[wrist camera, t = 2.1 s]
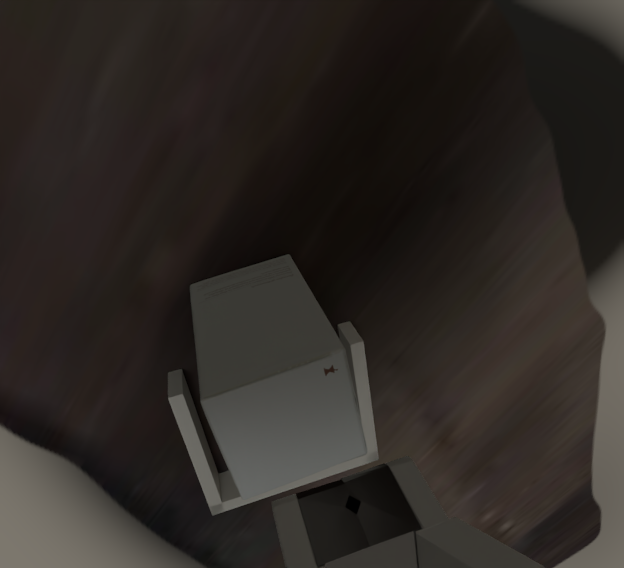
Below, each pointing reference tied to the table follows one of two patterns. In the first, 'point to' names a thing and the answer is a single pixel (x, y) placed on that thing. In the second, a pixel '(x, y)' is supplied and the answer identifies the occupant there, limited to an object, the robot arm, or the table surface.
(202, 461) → the bay
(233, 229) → the table surface
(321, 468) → the supplement box
